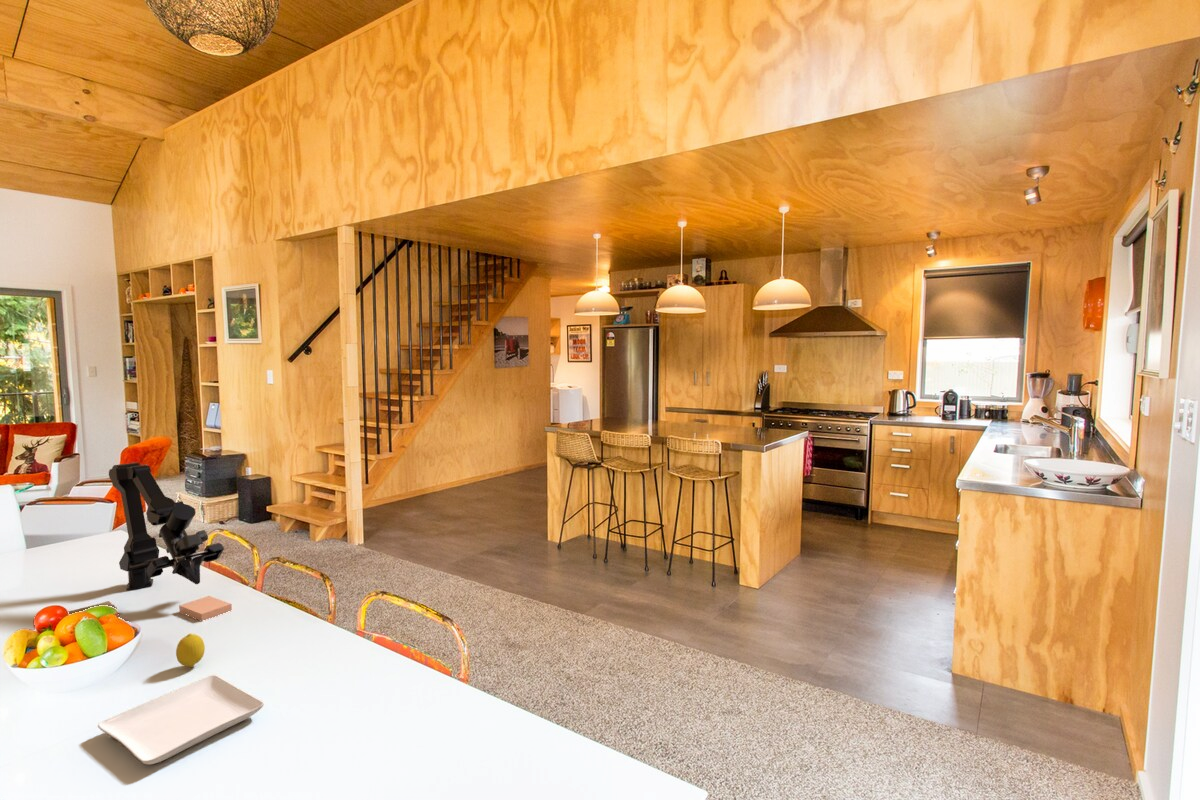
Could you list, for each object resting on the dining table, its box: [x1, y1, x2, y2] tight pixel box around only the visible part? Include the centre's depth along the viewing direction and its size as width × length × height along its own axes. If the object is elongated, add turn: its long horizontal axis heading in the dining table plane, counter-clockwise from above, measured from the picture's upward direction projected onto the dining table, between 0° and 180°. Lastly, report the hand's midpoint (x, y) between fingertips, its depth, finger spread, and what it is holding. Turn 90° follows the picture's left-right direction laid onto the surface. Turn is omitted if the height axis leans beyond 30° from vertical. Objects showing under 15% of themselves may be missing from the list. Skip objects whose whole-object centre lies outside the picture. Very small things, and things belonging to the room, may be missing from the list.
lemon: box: [175, 633, 206, 668], centre depth 142 cm, size 6×6×8 cm
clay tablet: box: [68, 600, 118, 614], centre depth 171 cm, size 14×10×3 cm
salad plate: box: [97, 674, 265, 765], centre depth 119 cm, size 21×21×3 cm
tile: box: [178, 595, 233, 622], centre depth 173 cm, size 2×8×12 cm
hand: (198, 583), depth 174 cm, fingers closed
